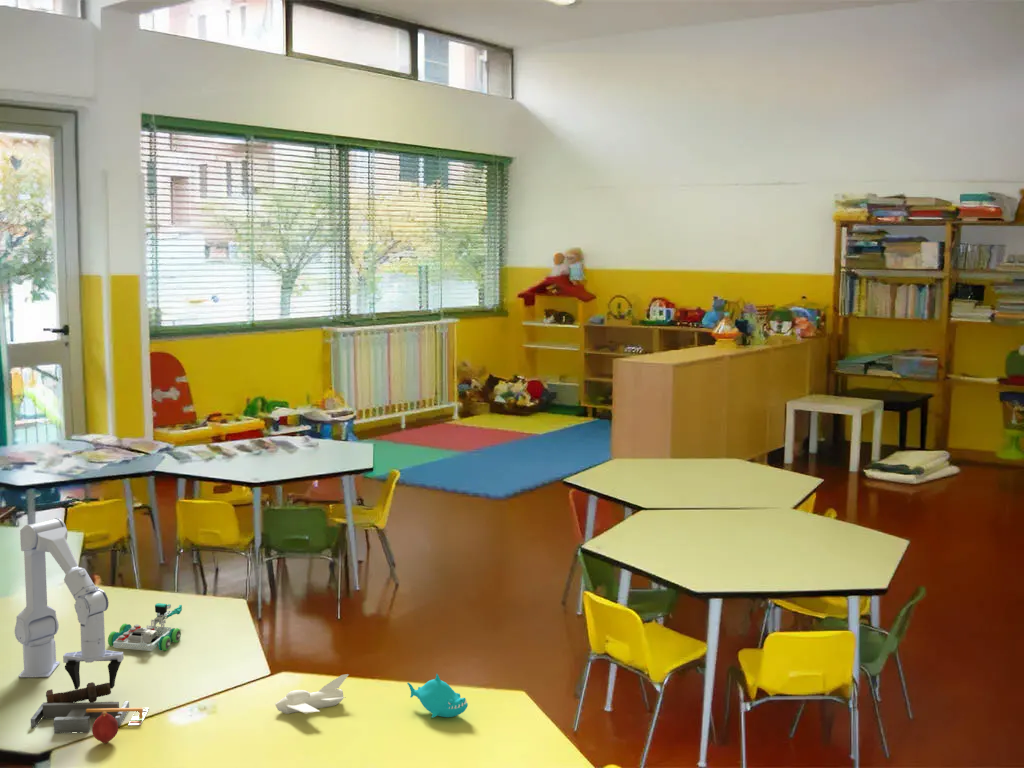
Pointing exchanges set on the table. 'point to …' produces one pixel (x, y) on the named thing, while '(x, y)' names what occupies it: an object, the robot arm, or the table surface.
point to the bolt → (79, 694)
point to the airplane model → (312, 698)
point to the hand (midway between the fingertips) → (94, 687)
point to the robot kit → (148, 632)
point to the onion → (105, 728)
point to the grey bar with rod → (85, 709)
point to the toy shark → (439, 698)
